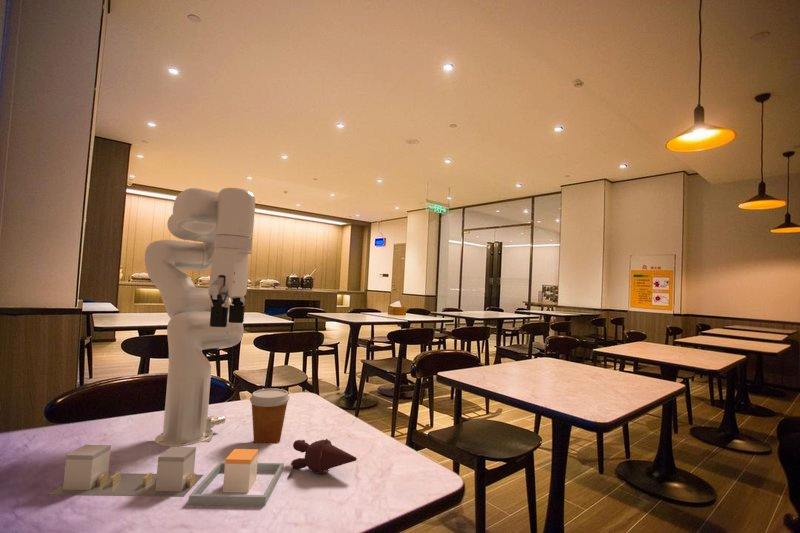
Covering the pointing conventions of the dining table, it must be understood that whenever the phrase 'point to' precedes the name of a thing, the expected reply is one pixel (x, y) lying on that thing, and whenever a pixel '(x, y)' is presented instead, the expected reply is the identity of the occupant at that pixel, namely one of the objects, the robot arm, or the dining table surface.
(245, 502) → the tray
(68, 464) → the fuse
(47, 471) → the dining table surface
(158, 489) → the block
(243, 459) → the block
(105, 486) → the fuse panel
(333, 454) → the icecream
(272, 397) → the disposable coffee cup
